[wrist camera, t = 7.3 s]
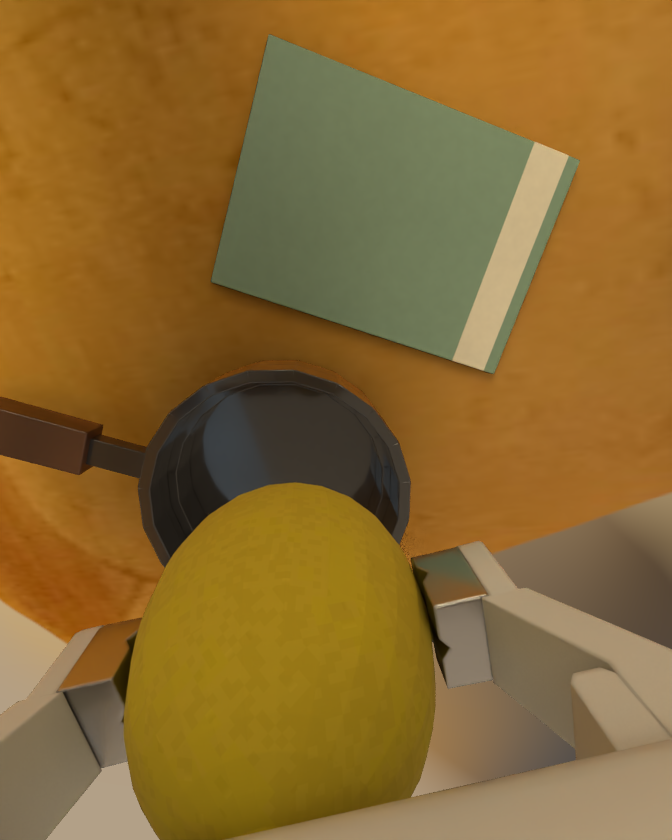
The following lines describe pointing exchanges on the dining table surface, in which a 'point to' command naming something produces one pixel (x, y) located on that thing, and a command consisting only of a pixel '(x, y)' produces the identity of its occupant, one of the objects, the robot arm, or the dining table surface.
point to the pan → (269, 449)
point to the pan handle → (63, 441)
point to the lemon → (279, 670)
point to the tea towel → (386, 209)
